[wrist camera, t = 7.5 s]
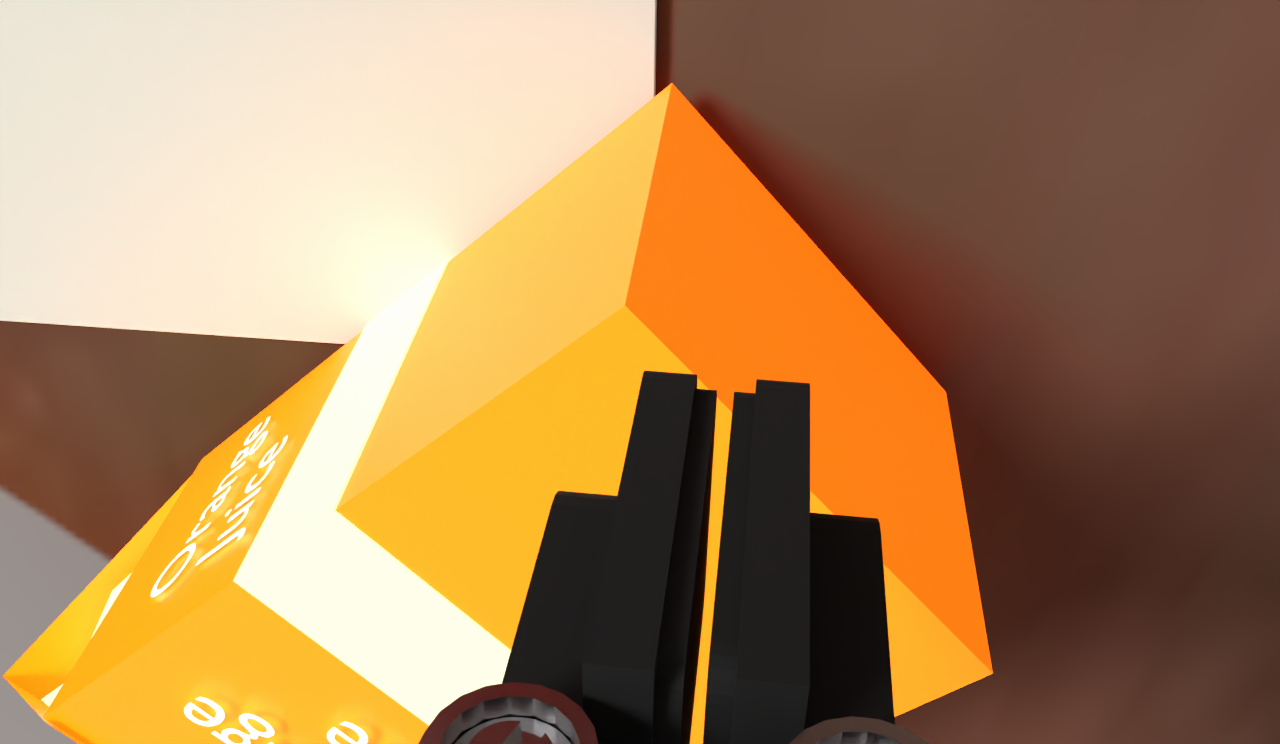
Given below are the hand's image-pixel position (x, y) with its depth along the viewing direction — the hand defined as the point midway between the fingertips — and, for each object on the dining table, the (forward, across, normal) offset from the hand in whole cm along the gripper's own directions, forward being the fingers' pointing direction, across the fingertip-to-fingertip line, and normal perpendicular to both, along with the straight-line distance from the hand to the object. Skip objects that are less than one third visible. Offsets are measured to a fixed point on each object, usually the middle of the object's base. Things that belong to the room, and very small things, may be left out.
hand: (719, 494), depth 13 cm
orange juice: (+8, -2, +3) cm, 8 cm away
